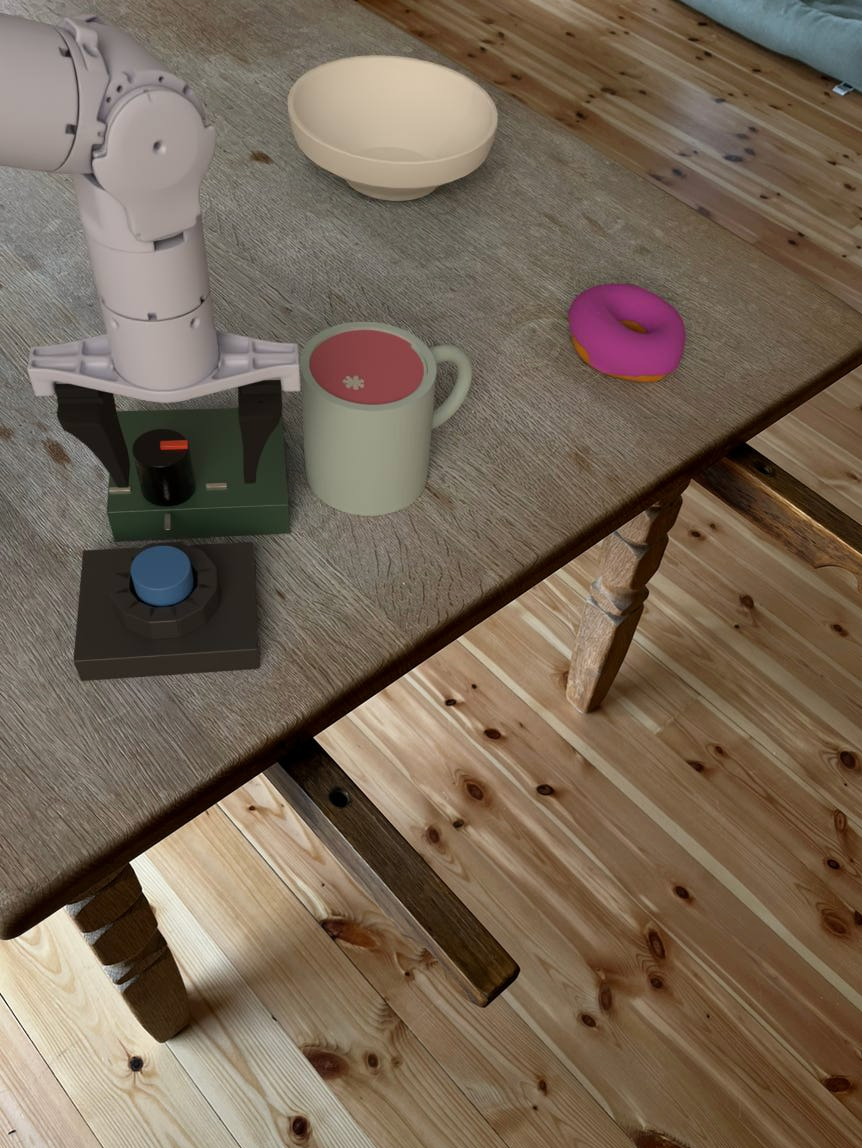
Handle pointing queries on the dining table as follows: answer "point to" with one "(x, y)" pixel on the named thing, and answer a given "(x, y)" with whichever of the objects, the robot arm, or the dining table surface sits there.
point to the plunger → (162, 575)
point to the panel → (204, 481)
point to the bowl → (392, 123)
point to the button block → (167, 616)
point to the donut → (627, 332)
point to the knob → (164, 467)
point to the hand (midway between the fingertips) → (187, 474)
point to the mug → (373, 414)
